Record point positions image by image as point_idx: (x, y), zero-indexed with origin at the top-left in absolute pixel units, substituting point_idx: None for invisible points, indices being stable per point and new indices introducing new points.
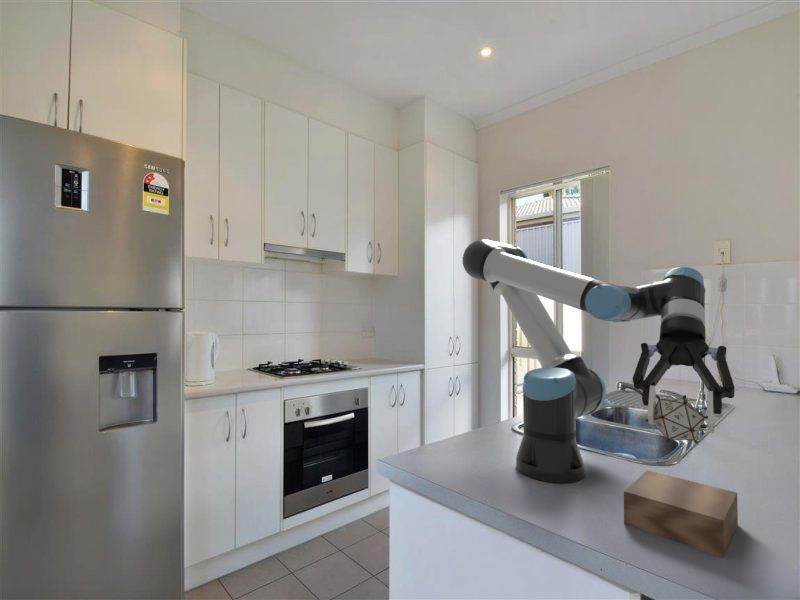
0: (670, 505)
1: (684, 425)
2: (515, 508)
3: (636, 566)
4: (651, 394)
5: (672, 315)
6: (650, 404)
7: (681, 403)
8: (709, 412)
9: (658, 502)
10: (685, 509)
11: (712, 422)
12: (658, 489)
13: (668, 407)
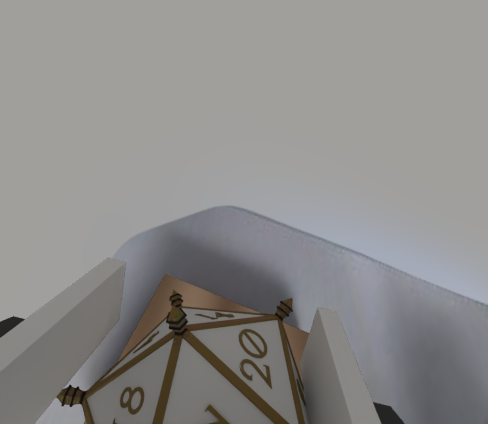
0: (239, 305)
1: (199, 308)
2: (468, 321)
3: (285, 226)
4: (364, 417)
5: None
6: (343, 351)
7: (195, 336)
8: (89, 285)
9: (258, 312)
10: (217, 295)
11: (108, 260)
12: None
13: (257, 345)
